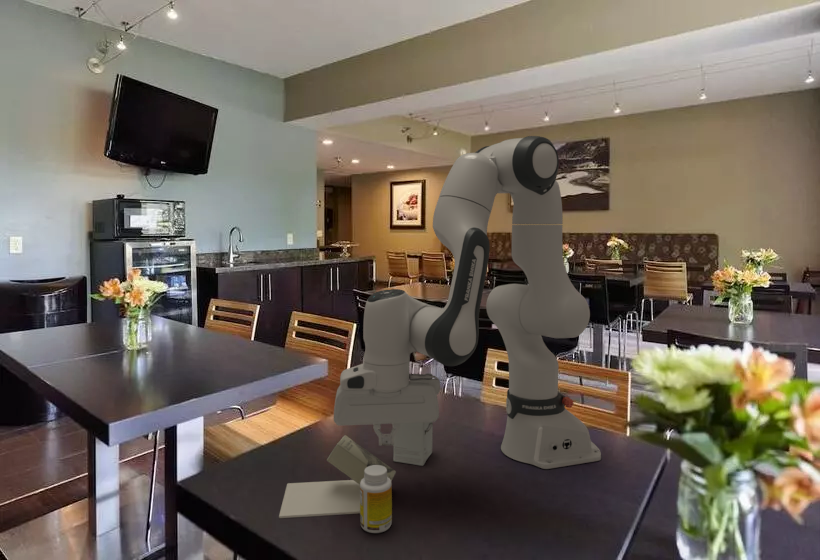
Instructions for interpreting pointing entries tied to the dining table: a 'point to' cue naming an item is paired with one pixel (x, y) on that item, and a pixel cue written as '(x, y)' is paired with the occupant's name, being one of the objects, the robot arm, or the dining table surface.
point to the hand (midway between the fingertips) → (386, 444)
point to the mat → (321, 499)
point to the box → (354, 459)
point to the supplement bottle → (375, 500)
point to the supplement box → (413, 443)
